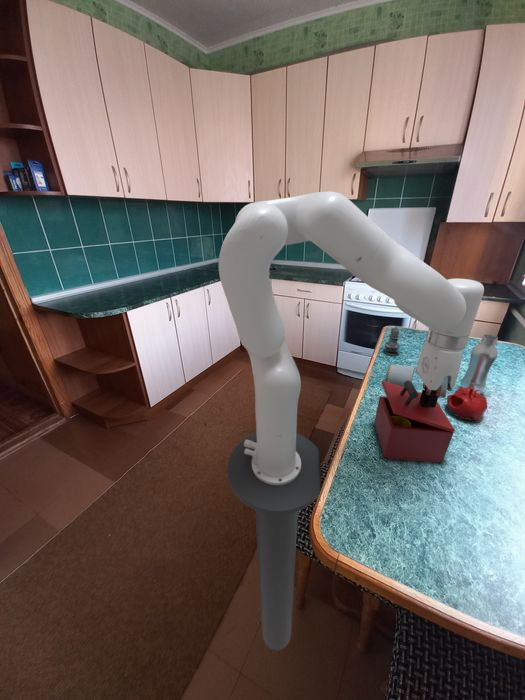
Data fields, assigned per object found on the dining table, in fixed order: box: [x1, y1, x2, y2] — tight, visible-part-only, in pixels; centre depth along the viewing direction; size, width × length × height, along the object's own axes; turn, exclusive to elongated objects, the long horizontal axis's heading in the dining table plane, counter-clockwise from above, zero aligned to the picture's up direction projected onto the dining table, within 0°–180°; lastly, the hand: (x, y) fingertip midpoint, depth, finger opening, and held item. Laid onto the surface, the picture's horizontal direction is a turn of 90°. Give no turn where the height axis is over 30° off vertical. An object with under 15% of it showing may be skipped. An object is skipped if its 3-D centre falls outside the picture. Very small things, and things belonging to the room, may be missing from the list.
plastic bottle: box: [459, 334, 499, 395], centre depth 91 cm, size 6×7×20 cm
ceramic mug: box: [384, 363, 416, 387], centre depth 97 cm, size 11×8×8 cm
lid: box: [381, 380, 456, 433], centre depth 70 cm, size 14×13×5 cm
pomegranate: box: [446, 385, 488, 421], centre depth 85 cm, size 10×10×9 cm
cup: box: [391, 416, 411, 427], centre depth 76 cm, size 5×6×6 cm
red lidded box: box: [373, 395, 454, 464], centre depth 75 cm, size 14×13×10 cm
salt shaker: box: [383, 326, 401, 357], centre depth 118 cm, size 6×6×12 cm
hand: (427, 405), depth 71 cm, fingers closed
